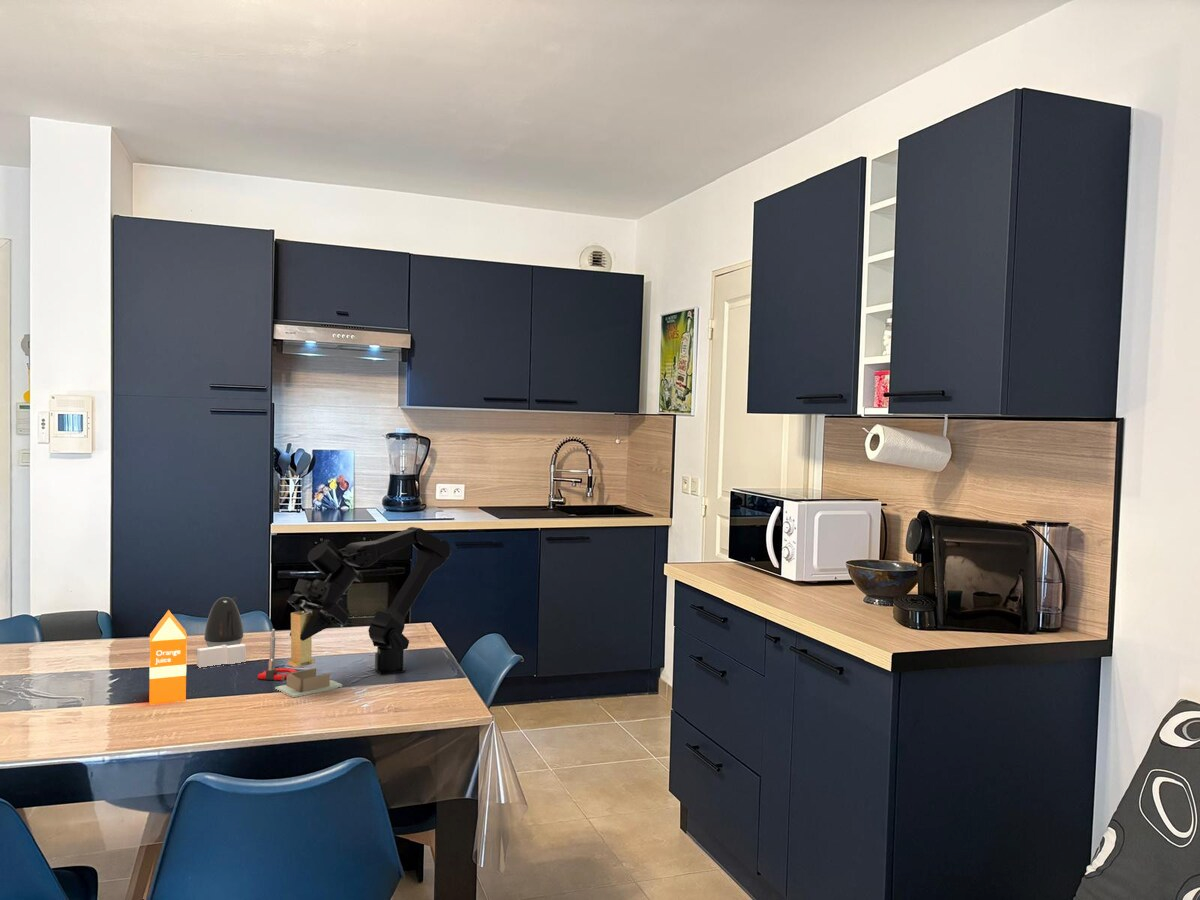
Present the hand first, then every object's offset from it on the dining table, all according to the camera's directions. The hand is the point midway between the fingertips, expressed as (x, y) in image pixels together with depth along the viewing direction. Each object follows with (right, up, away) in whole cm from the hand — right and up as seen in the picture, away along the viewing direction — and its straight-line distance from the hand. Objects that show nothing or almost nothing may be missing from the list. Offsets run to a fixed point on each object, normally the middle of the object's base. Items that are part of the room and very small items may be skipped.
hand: (296, 638), depth 207 cm
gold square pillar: (+1, -7, +1) cm, 7 cm away
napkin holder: (-28, -13, +23) cm, 38 cm away
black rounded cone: (-34, -12, +38) cm, 53 cm away
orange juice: (-29, -13, -4) cm, 32 cm away
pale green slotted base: (+1, -13, +5) cm, 15 cm away
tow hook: (-10, -13, +15) cm, 22 cm away
